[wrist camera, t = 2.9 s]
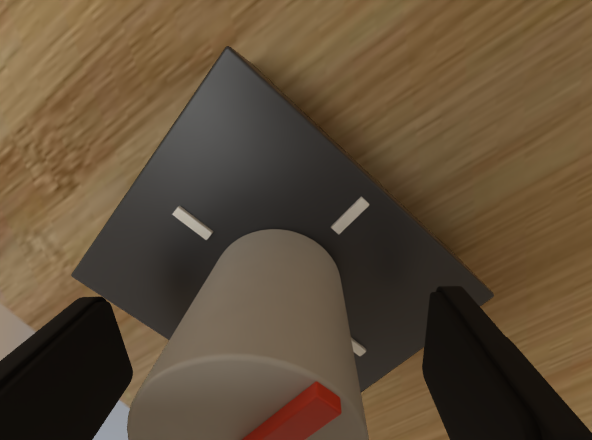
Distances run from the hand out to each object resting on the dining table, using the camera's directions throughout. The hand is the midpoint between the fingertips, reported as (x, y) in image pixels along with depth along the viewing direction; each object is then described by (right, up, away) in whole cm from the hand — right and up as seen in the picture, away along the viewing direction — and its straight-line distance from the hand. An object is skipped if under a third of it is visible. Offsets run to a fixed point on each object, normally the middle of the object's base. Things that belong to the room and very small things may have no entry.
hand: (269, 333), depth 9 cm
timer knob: (0, +1, +2) cm, 2 cm away
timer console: (0, +2, +5) cm, 5 cm away
